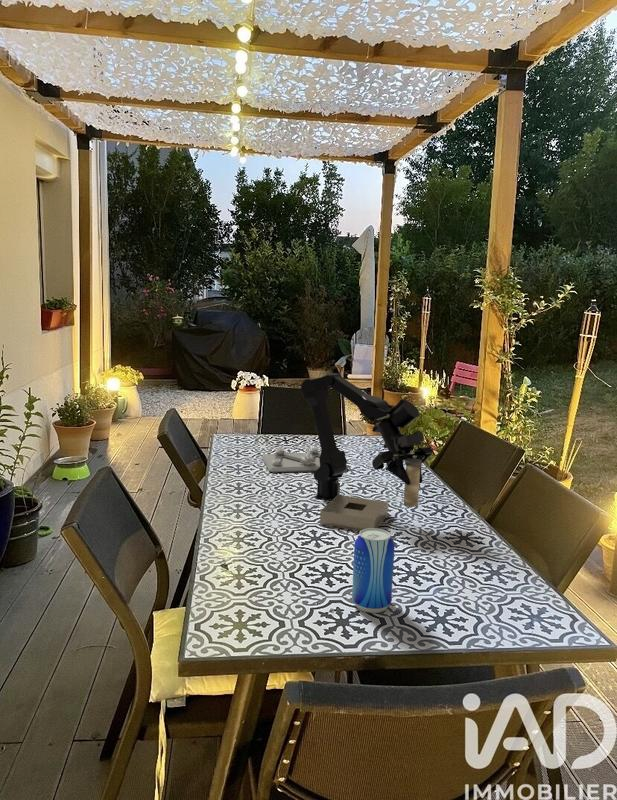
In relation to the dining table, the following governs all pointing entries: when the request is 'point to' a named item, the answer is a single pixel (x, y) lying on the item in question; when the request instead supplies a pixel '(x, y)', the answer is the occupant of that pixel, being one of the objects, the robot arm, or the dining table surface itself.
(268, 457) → the grey linkage board
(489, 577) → the dining table surface
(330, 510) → the grey square block
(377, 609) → the beer can
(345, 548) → the dining table surface
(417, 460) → the ash pin
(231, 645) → the dining table surface
